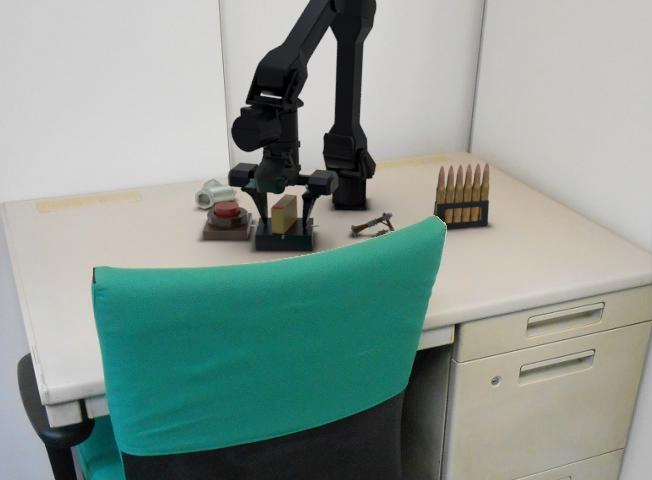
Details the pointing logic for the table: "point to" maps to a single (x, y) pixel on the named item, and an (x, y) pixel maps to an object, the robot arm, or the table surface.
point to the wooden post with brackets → (372, 223)
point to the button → (226, 209)
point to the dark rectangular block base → (285, 237)
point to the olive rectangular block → (284, 213)
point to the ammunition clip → (463, 198)
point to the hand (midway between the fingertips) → (285, 225)
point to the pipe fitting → (214, 194)
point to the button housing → (227, 226)
